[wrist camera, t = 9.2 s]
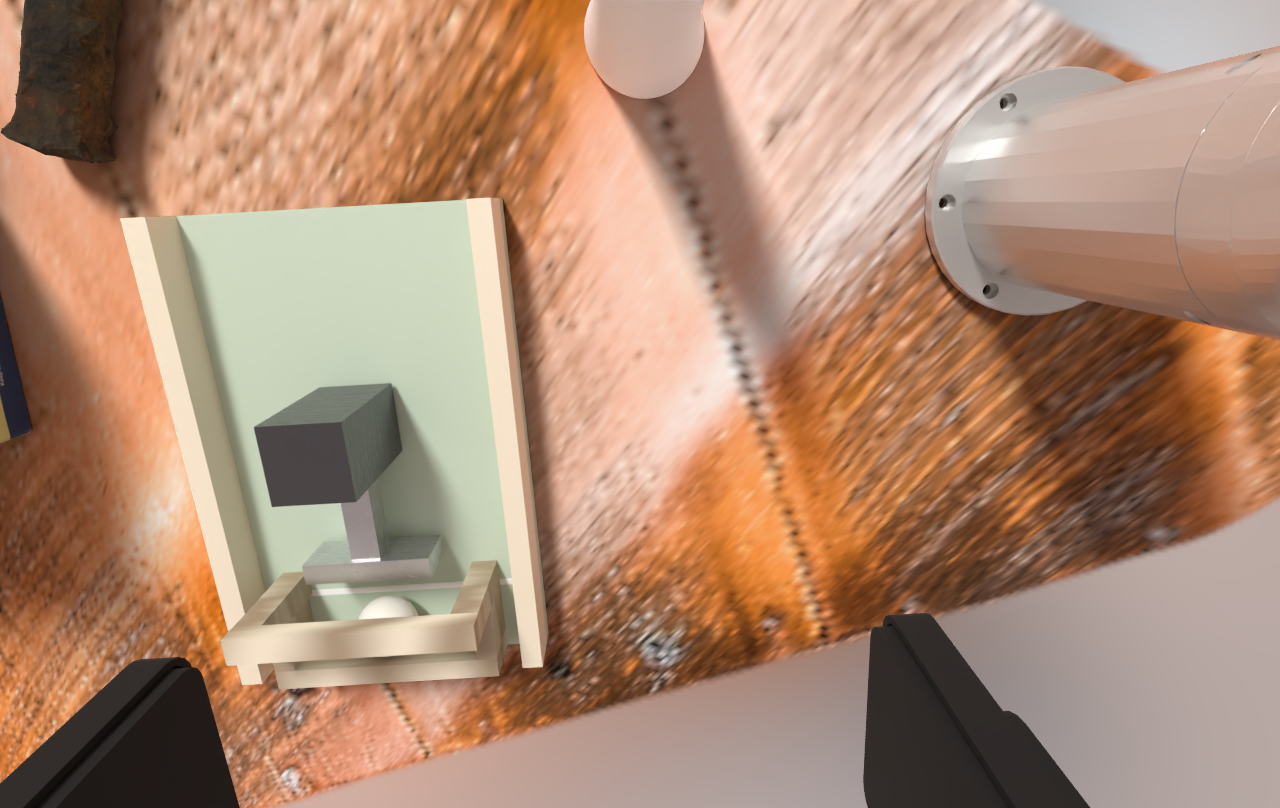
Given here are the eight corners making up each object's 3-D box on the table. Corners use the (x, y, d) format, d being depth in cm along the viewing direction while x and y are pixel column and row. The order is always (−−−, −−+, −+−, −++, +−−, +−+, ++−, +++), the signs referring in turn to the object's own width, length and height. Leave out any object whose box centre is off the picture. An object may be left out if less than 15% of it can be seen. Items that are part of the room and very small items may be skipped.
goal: (496, 560, 41) (473, 625, 35) (507, 644, 43) (487, 721, 37) (283, 572, 41) (220, 641, 35) (302, 656, 43) (245, 736, 36)
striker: (418, 381, 38) (374, 420, 31) (444, 552, 41) (408, 621, 34) (292, 388, 38) (220, 428, 31) (327, 559, 41) (269, 629, 34)
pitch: (502, 198, 36) (490, 197, 33) (548, 632, 44) (542, 667, 41) (165, 217, 36) (119, 218, 33) (270, 649, 44) (242, 684, 41)
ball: (415, 668, 40) (430, 623, 43) (403, 623, 38) (419, 580, 41) (355, 671, 40) (374, 627, 43) (340, 627, 38) (361, 584, 41)
